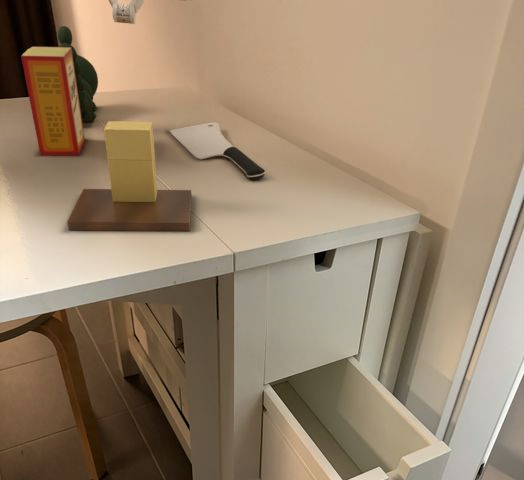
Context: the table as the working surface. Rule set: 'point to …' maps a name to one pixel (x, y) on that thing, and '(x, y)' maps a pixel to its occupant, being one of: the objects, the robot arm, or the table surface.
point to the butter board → (131, 212)
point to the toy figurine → (82, 77)
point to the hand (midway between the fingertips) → (123, 20)
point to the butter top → (129, 140)
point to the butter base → (133, 180)
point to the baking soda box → (54, 99)
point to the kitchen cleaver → (215, 147)
